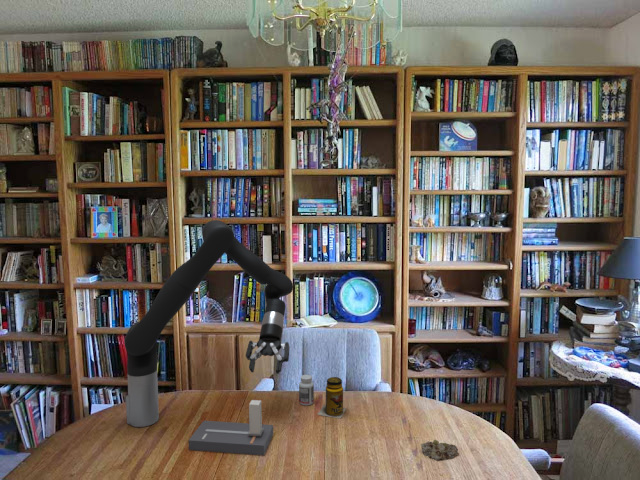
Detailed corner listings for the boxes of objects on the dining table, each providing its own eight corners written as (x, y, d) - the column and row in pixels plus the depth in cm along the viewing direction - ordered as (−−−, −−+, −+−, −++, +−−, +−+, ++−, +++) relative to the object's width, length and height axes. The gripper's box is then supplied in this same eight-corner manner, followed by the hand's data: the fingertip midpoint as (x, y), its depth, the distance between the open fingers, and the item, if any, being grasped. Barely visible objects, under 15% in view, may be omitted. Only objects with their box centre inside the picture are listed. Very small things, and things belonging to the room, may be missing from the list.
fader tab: (247, 435, 140) (247, 405, 139) (251, 428, 144) (250, 399, 143) (260, 436, 139) (260, 405, 138) (263, 429, 143) (263, 399, 142)
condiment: (341, 418, 157) (341, 384, 156) (317, 415, 160) (317, 381, 158) (346, 409, 164) (346, 376, 163) (323, 405, 167) (323, 373, 165)
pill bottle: (307, 397, 173) (307, 372, 172) (316, 402, 169) (316, 377, 168) (296, 402, 170) (295, 376, 168) (305, 407, 165) (304, 381, 164)
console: (188, 449, 138) (188, 439, 138) (203, 429, 150) (203, 420, 150) (264, 455, 136) (263, 445, 135) (273, 434, 147) (273, 424, 147)
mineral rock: (423, 454, 132) (420, 432, 140) (421, 465, 134) (419, 443, 141) (461, 457, 131) (456, 435, 139) (459, 468, 133) (455, 446, 140)
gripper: (250, 321, 159) (240, 366, 149) (290, 323, 157) (284, 368, 147) (254, 331, 165) (245, 375, 155) (293, 333, 163) (287, 377, 153)
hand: (264, 372), depth 151 cm, fingers open, 8 cm apart
